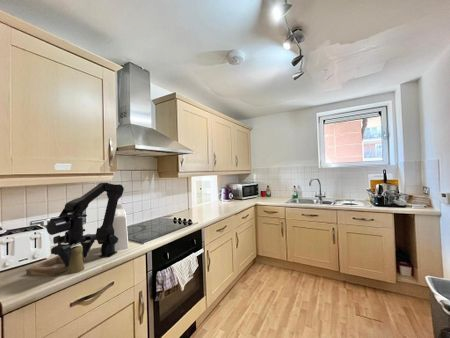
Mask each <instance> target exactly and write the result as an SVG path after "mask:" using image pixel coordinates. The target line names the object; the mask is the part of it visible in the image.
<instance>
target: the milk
mask: <svg viewBox="0 0 450 338" xmlns="http://www.w3.org/2000/svg"><path fill="white" fill-rule="evenodd" d="M113 228H114V235H115V236H116V237H117V238H118V242H117V243H116V244H115V251H118V250H125V249H129V238H128V236H129V235H128V234H129V233H128V221H127V213H126V210H125V208H124V206H123V204H122V203H117V207H116V212H115V216H114V221H113Z"/></svg>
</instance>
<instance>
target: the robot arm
mask: <svg viewBox="0 0 450 338" xmlns="http://www.w3.org/2000/svg"><path fill="white" fill-rule="evenodd" d="M124 191H125V188H124V186H123V185H122V184H118V183H117V184H115V183H109V182H99V183H98V184H96V186H94V187H93V188H92V189H90V190H89V191H87V192H86V193H85V194H83V195H82V196H80V197H76V198H74V199H71V200H70V201H67V202H66V203H65V204H64V208H63V209H62V211H61V212H60V214H59V215H58V217H52V218H50V219H49V222H47V225H46V232H47V233H48V235H50V236H53V235H56V234H57V235H56V236H54V237H53V239H52V241H53V244H54V245H55V246H52V248H50V254H51V255H55V256H60V257H61V259H62V260H63V262H64V263H63V264H65V266H66V267H68V266H69V263H70V257H71V251H70V250H71V248H72V247H75V246H79V245H80V246H82V247H83V251H82V256H83V259H84V258H85V259H86V257H87V255H88V254H89V251H90V250H91V247H92V246H93V244H94V243H95V241H97V244H98V245H101V248H100V254H99V256H98V257H100V258H101V257H104V258H105V257H106V258H107V257H108V258H109V257H112V256H114V255H115V254H116V253H118V250H115V244H116V243H117V242H118V238H117V237H116V236H115V235H114V228H113V221H114V216H115V212H116V207H117V204H118V203H119V202H118V201H119V199H121V198H122V195H123V193H124ZM104 192H106V197H107V199H108V200H107V203H106V208H105V212H104V217H103V221H102V225H100V227H97V228H96V232H95V233H87V234H84V232H85V231H86V228H84V223H83V221H84V218H85V217H87V216H88V214H86V213H85V211H86V209H88V207H89V205H90V203H91V202H93V201H94V200H95V199H97V198H98V197H99V196H100V195H102V194H103V193H104ZM61 233H64V235H62V236H61V235H60V234H61ZM58 234H59V235H58Z"/></svg>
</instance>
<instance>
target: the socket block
mask: <svg viewBox="0 0 450 338" xmlns="http://www.w3.org/2000/svg"><path fill="white" fill-rule="evenodd" d="M82 258H83V262H84V257H83V255H82ZM59 263H62V264H60V265H57V266H56V267H52V266H54V265H56V264H59ZM69 264H70V263H69ZM68 270H69V266H68V267H66V266H65V264H64V262H63V260H62V259H61V257H60V256H59V255H55V256H54V257H51V258H49V259H47V260H44V261H42V262H40V263H38V264H35V265H33V266H31V267H29V268H26V269H25V275H26V276H42V277H43V276H44V277H56V276H58V275H59V274H61V273H64V272H65V271H68Z"/></svg>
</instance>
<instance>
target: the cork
mask: <svg viewBox="0 0 450 338" xmlns="http://www.w3.org/2000/svg"><path fill="white" fill-rule="evenodd" d="M70 251H71V257H70V264H69V269H68V270H67V271H68V273H67V274H70V275H71V274H72V275H73V274H78V273H80V272H83V271H84V270H85V263H84V261H83V260H84V257H83V258H82V256H83V247H82V245H76V246H73V247H71V250H70Z"/></svg>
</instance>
